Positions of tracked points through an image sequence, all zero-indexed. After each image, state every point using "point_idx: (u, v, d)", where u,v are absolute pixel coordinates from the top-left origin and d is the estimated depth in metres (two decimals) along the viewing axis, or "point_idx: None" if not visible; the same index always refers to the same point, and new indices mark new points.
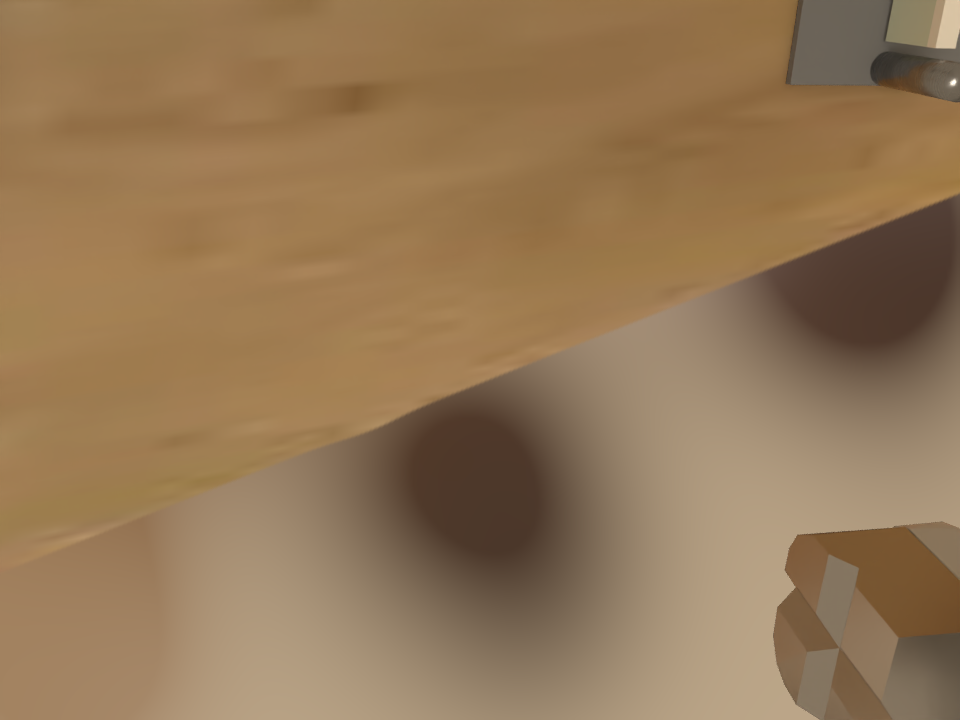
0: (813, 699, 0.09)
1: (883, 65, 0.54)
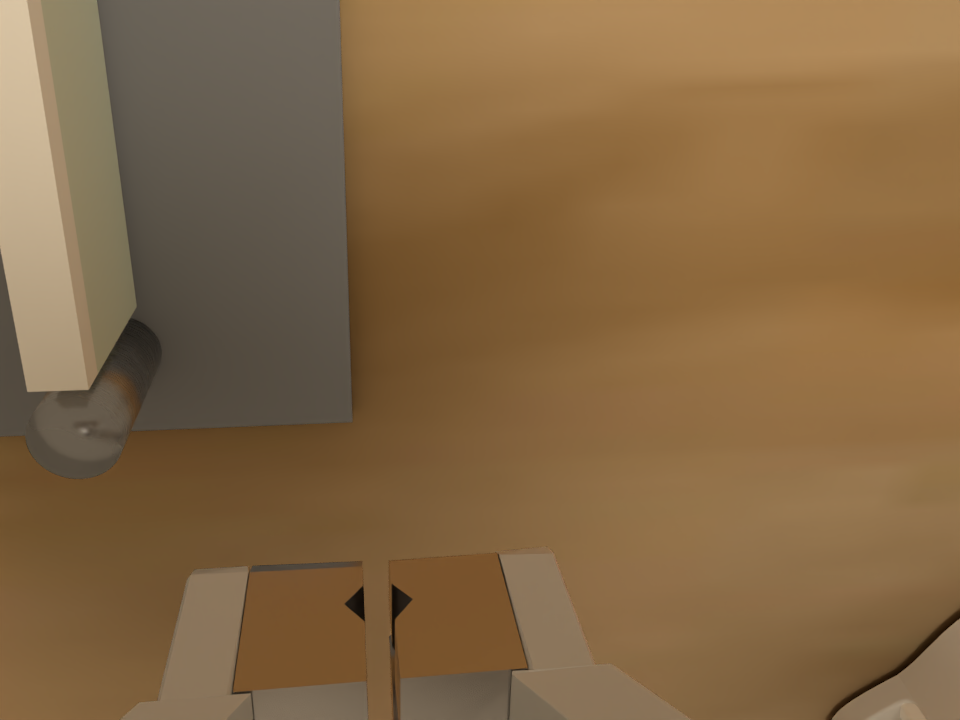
0: None
1: None
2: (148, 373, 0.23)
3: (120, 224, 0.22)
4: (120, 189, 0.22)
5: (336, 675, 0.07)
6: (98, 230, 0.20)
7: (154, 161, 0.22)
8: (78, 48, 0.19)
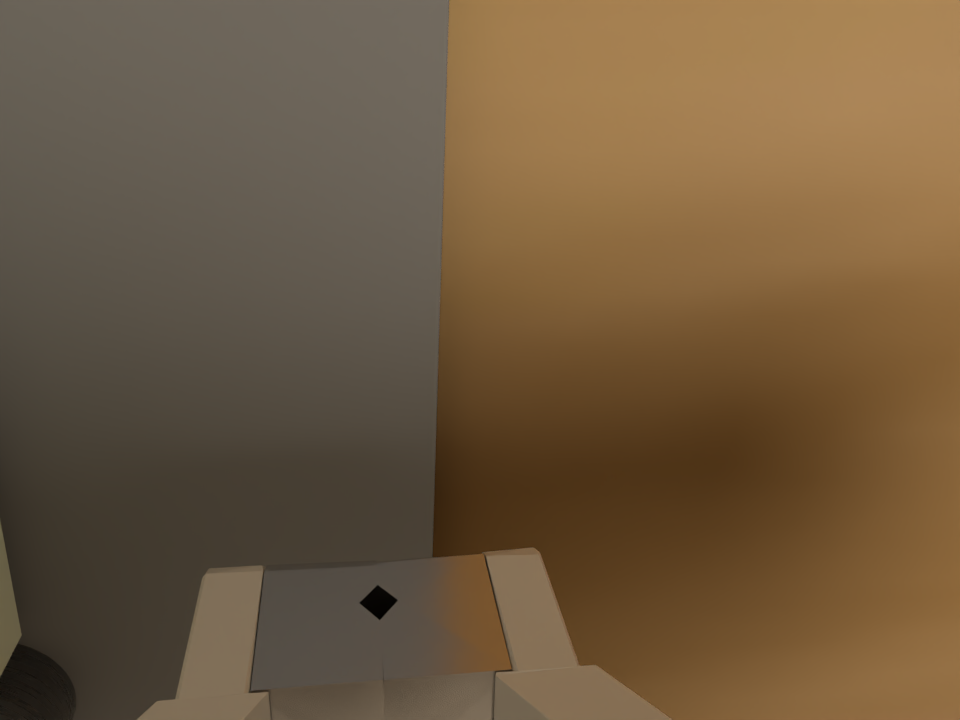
0: None
1: None
2: None
3: None
4: None
5: (353, 674, 0.07)
6: None
7: (54, 367, 0.11)
8: None
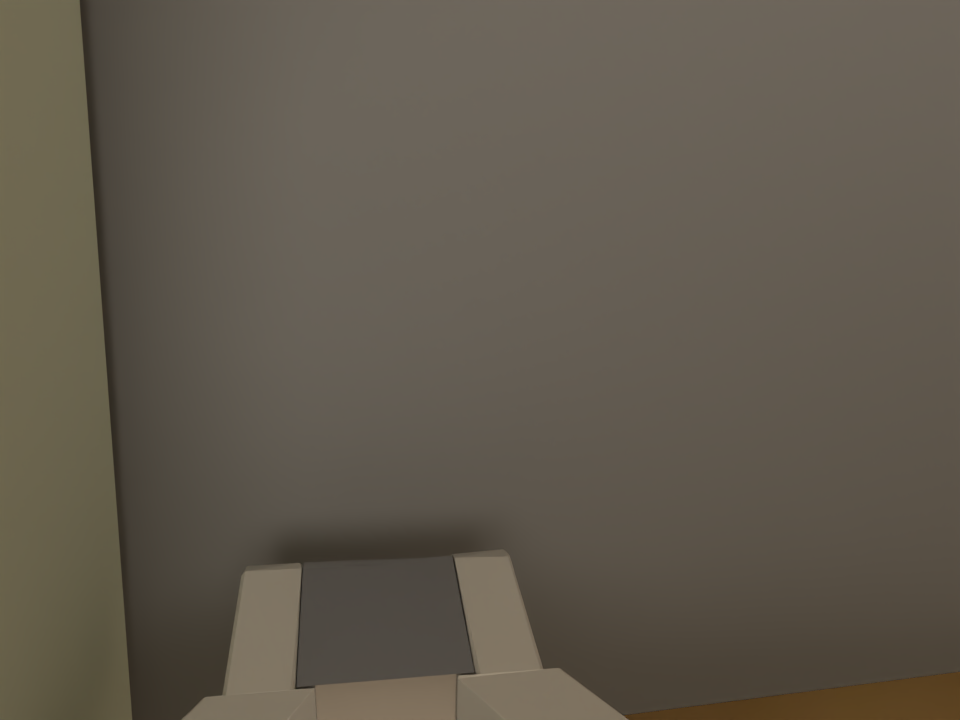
0: None
1: None
2: None
3: (115, 690, 0.08)
4: (120, 594, 0.09)
5: (398, 672, 0.07)
6: None
7: None
8: (18, 335, 0.05)
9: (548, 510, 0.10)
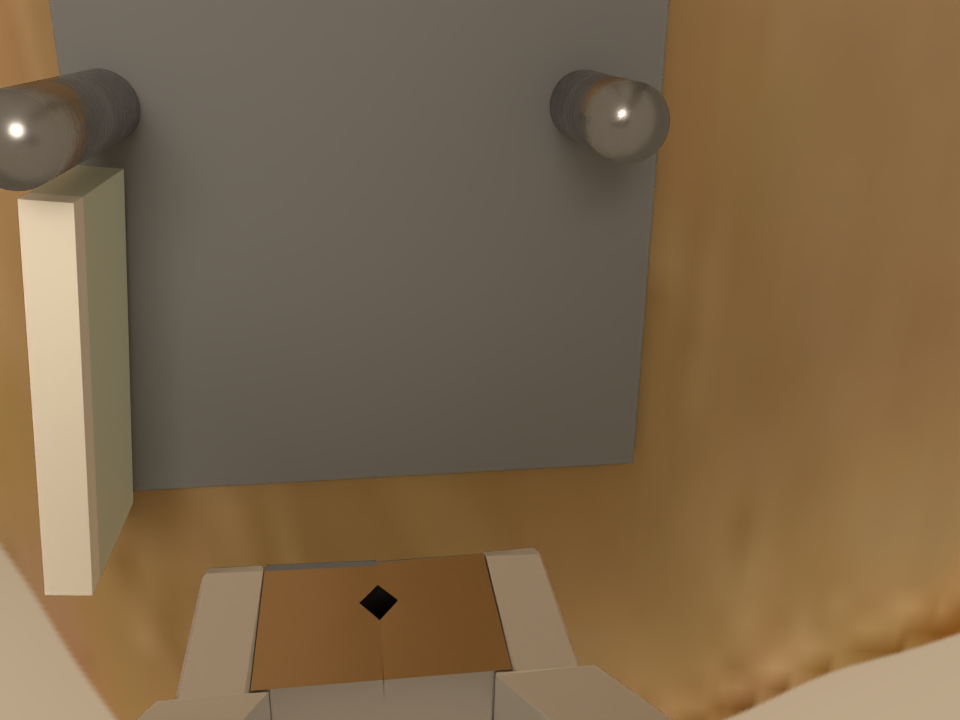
0: None
1: (97, 74, 0.24)
2: (595, 73, 0.25)
3: (127, 444, 0.28)
4: (129, 416, 0.28)
5: (353, 674, 0.07)
6: (111, 463, 0.26)
7: (411, 55, 0.26)
8: (110, 332, 0.25)
9: (272, 399, 0.29)
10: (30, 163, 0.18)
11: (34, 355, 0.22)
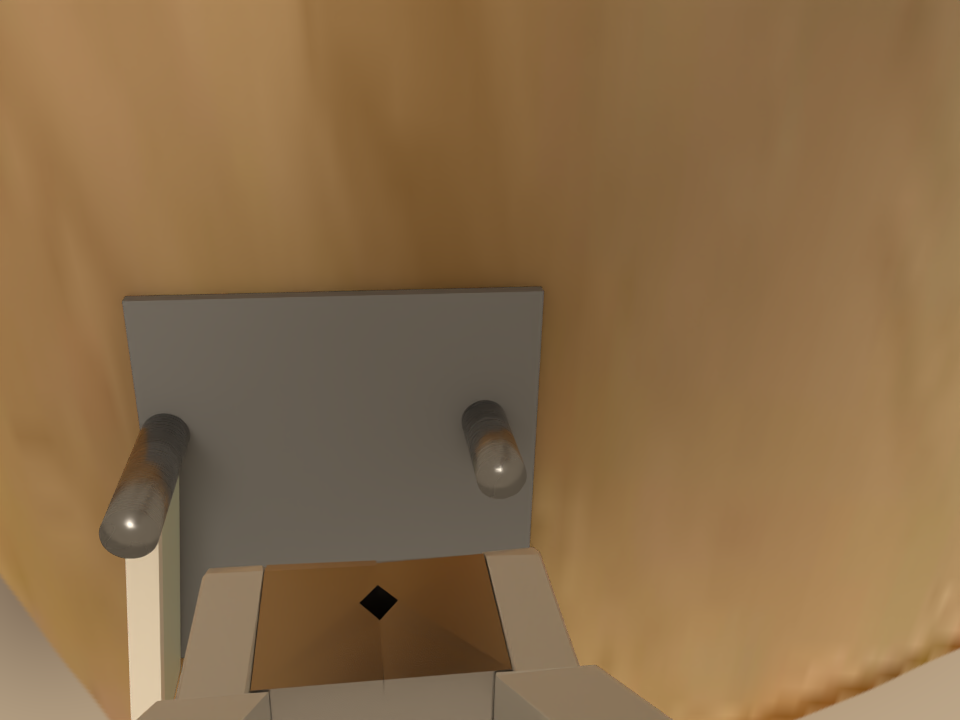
0: None
1: (165, 428, 0.37)
2: (487, 418, 0.38)
3: (178, 636, 0.41)
4: (179, 616, 0.41)
5: (353, 674, 0.07)
6: (171, 659, 0.39)
7: (368, 397, 0.39)
8: (172, 582, 0.38)
9: None
10: (140, 545, 0.32)
11: (131, 620, 0.35)
